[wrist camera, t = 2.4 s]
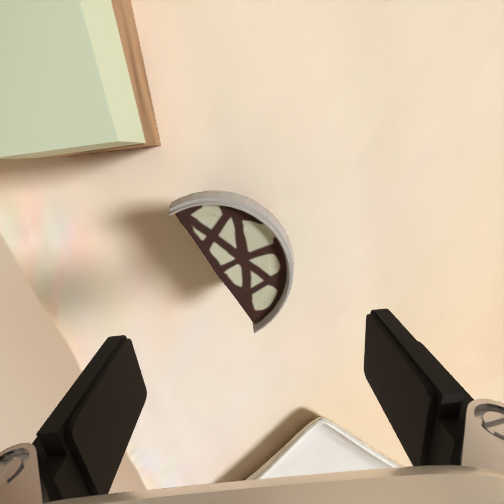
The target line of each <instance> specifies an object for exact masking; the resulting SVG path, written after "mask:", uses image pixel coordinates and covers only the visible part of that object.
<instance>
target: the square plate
mask: <svg viewBox="0 0 504 504" xmlns="http://www.w3.org/2000/svg"><path fill="white" fill-rule="evenodd" d="M396 467H404V466H402V465H401V464H399V463H397V462H395V461H394V460H392V459H390V458H389V457H387V456H385V455H384V454H382V453H380V452H379V451H377V450H376V449H374V448H373V447H371V446H369V445H368V444H366V443H365V442H363V441H362V440H360V439H359V438H357V437H356V436H354V435H353V434H352V433H350V432H349V431H347V430H346V429H344V428H343V427H341V426H339V425H338V424H336V423H334V422H332V421H331V420H329V419H327V418H325V417H318V418H316V419H315V420H313V421H312V422H310V423H309V424H308V425H306V426H305V427H304V428H303V429H302V430H301V431H299V432H298V433H297V434H296V435H295V436H294V437H293V438H292V439H291V440H290V441H289V442H288V443H287V444H286V445H285V446H284V447H282V448H281V449H280V450H279V451H278V452H277V453H276V454H275V455H274V456H273V457H272V458H270V459H269V460H268V461H267V462H266V463H265V464H264V465H263V466H261V467H260V468H259V469H258V470H257V471H256V472H254V473H253V474H252V475H251V476H250V477H248V478H247V479H246V480H255V479H266V478H277V477H288V476H299V475H311V474H322V473H334V472H345V471H356V470H368V469H381V468H396Z"/></svg>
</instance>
